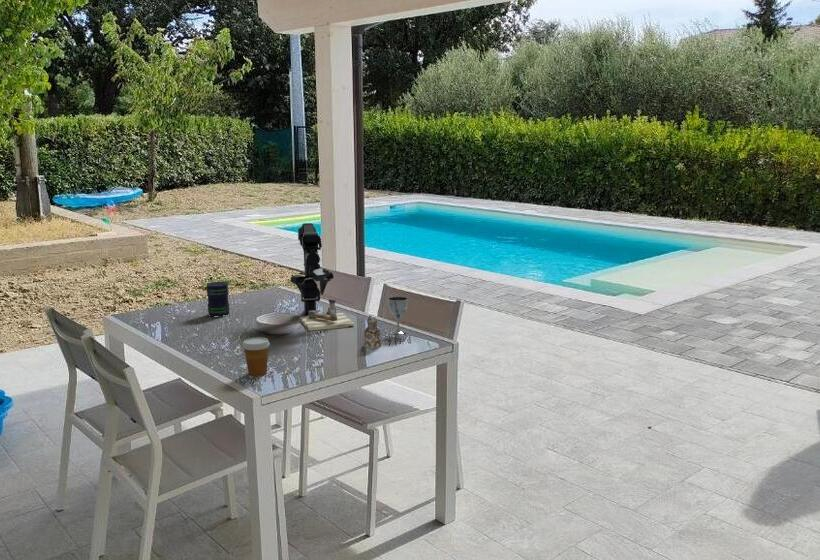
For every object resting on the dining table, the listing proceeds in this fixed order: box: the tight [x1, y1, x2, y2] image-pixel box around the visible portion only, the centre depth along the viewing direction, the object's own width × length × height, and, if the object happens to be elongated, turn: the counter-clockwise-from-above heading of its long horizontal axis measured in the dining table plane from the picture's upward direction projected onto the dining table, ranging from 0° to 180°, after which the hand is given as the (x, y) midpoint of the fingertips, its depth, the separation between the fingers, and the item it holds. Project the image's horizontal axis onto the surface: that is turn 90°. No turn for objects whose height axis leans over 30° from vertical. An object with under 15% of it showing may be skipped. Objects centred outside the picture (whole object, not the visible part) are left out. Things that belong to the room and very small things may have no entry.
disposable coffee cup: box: [242, 337, 271, 377], centre depth 268 cm, size 10×10×12 cm
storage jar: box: [206, 281, 230, 316], centre depth 354 cm, size 10×10×15 cm
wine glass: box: [388, 295, 408, 335], centre depth 320 cm, size 8×8×15 cm
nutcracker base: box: [299, 306, 355, 331], centre depth 338 cm, size 20×20×6 cm
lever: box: [308, 298, 337, 321], centre depth 337 cm, size 16×4×10 cm, turn 50°
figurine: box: [362, 315, 382, 349], centre depth 301 cm, size 7×7×12 cm
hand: (312, 296), depth 335 cm, fingers open, 9 cm apart
